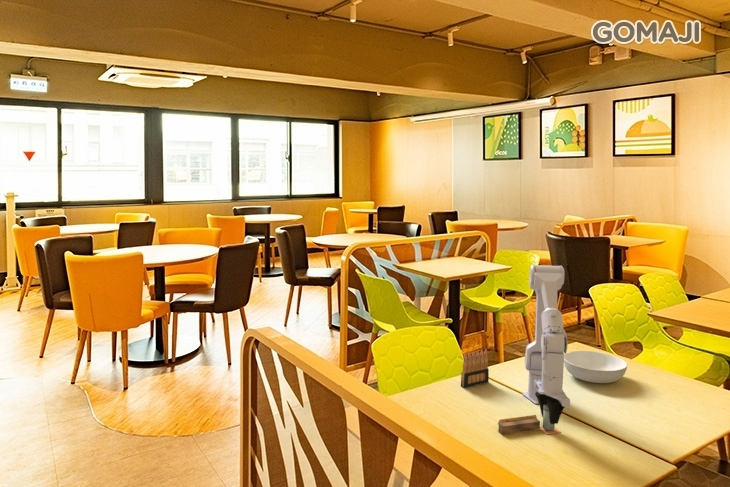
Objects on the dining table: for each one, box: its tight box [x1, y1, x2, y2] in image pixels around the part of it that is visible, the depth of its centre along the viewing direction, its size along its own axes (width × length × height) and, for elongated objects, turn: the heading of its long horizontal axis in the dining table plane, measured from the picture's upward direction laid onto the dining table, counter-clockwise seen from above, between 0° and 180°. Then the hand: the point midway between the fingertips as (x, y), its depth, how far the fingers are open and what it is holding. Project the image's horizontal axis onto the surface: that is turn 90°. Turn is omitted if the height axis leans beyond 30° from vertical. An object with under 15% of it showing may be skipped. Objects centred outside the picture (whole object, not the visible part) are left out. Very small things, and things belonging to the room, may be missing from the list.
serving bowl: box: [564, 350, 628, 384], centre depth 200 cm, size 21×21×7 cm
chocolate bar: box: [497, 414, 538, 426], centre depth 166 cm, size 3×12×2 cm, turn 106°
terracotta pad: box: [540, 425, 562, 436], centre depth 162 cm, size 4×4×1 cm
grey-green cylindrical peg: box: [542, 404, 556, 430], centre depth 161 cm, size 3×3×6 cm
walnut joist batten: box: [497, 417, 541, 436], centre depth 161 cm, size 12×2×2 cm, turn 105°
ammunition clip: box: [460, 348, 490, 389], centre depth 194 cm, size 11×2×12 cm, turn 118°
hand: (549, 420), depth 161 cm, fingers open, 3 cm apart
